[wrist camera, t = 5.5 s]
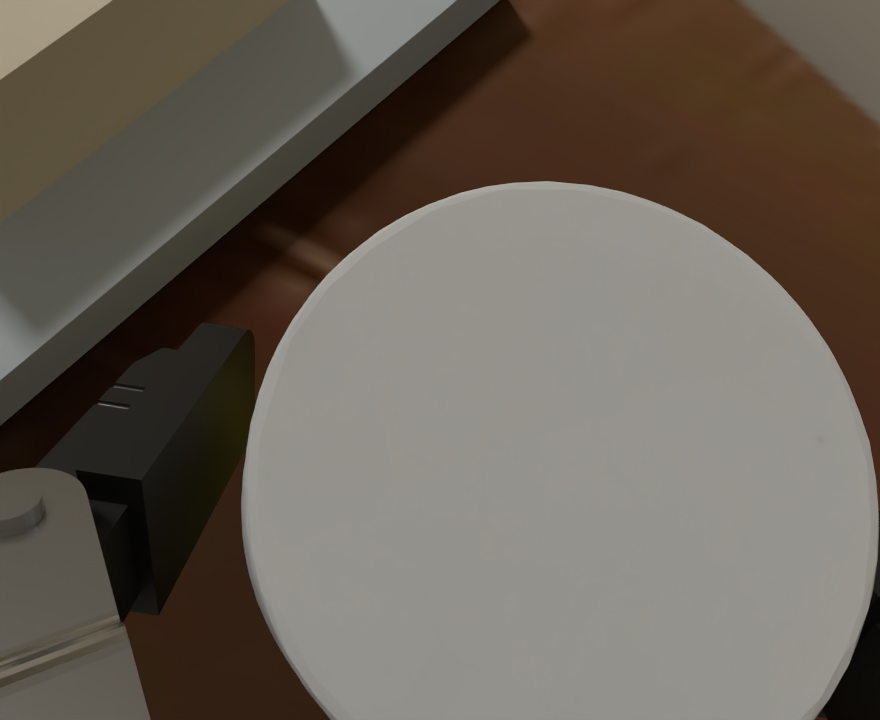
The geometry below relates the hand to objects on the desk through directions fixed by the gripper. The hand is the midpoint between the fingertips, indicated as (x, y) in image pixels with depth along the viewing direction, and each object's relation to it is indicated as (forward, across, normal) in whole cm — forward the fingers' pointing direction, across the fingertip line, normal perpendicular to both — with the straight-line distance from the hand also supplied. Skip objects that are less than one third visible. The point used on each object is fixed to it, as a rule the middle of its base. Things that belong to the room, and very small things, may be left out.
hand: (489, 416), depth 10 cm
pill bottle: (+3, 0, +5) cm, 6 cm away
